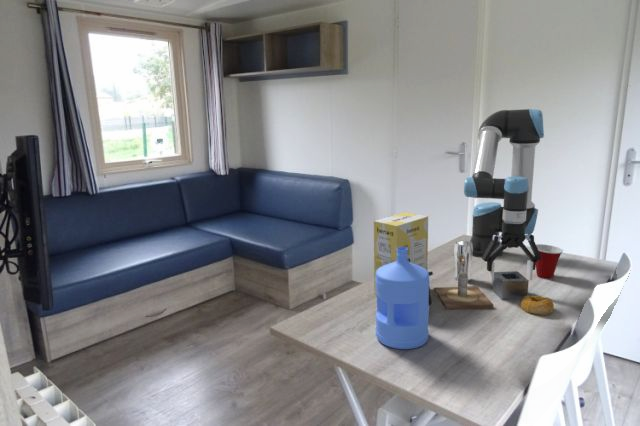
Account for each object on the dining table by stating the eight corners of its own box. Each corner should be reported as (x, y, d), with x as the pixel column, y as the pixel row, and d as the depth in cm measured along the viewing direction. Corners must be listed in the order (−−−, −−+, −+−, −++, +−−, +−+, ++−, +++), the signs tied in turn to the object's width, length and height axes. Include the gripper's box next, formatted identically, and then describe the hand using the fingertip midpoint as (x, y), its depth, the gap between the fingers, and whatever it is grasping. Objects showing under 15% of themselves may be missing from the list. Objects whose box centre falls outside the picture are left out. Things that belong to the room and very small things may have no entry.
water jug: (392, 320, 145) (392, 237, 139) (437, 334, 135) (439, 246, 129) (365, 340, 133) (364, 251, 127) (412, 356, 124) (414, 261, 117)
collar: (492, 289, 166) (493, 272, 164) (516, 289, 166) (517, 271, 164) (501, 299, 157) (502, 281, 155) (527, 299, 157) (528, 280, 155)
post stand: (434, 291, 166) (434, 265, 164) (476, 289, 166) (478, 263, 164) (445, 310, 151) (446, 281, 148) (493, 308, 151) (494, 280, 148)
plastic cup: (566, 281, 171) (569, 251, 169) (537, 281, 172) (540, 252, 169) (552, 270, 182) (555, 242, 179) (525, 271, 182) (527, 243, 179)
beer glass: (469, 275, 180) (470, 240, 177) (473, 282, 173) (475, 245, 170) (451, 275, 181) (452, 240, 177) (455, 282, 174) (456, 245, 171)
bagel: (549, 303, 153) (550, 290, 152) (556, 318, 143) (557, 304, 142) (518, 301, 156) (518, 289, 155) (522, 316, 146) (523, 302, 144)
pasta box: (404, 280, 178) (405, 212, 172) (426, 287, 170) (428, 216, 164) (374, 293, 166) (373, 221, 160) (396, 301, 159) (396, 226, 152)
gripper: (481, 225, 151) (479, 283, 156) (555, 222, 151) (550, 281, 156) (474, 220, 159) (471, 276, 163) (544, 218, 159) (539, 274, 163)
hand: (510, 279), depth 160 cm, fingers open, 13 cm apart
